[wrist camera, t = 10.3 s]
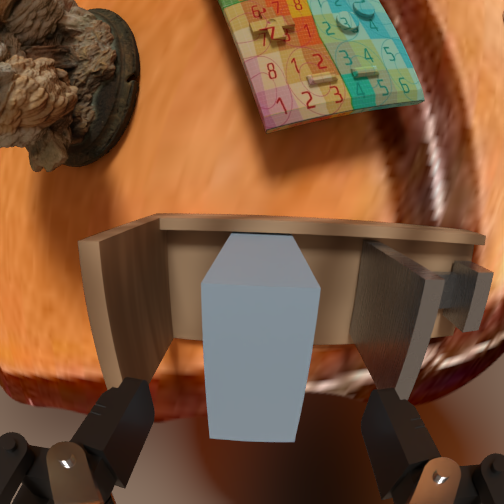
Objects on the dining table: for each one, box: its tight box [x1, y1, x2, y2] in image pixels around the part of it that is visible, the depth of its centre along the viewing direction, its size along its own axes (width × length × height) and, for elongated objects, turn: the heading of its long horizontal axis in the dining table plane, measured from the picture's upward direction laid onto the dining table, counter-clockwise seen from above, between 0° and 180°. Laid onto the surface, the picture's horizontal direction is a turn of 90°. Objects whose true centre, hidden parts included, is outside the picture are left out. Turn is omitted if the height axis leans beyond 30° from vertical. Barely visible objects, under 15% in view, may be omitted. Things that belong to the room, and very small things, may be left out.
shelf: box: [78, 214, 486, 390], centre depth 17 cm, size 27×10×11 cm, turn 88°
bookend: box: [349, 240, 494, 400], centre depth 16 cm, size 11×8×9 cm
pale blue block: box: [201, 231, 321, 442], centre depth 16 cm, size 4×8×11 cm, turn 178°
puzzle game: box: [218, 0, 425, 134], centre depth 15 cm, size 12×5×20 cm
